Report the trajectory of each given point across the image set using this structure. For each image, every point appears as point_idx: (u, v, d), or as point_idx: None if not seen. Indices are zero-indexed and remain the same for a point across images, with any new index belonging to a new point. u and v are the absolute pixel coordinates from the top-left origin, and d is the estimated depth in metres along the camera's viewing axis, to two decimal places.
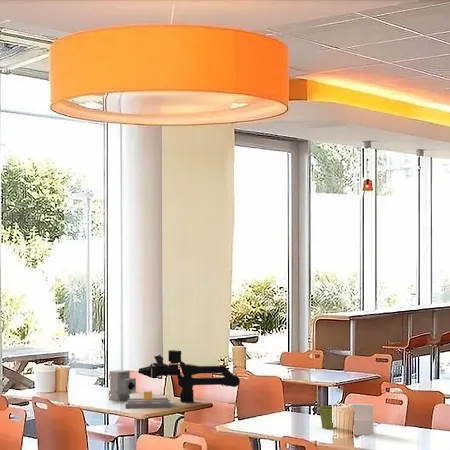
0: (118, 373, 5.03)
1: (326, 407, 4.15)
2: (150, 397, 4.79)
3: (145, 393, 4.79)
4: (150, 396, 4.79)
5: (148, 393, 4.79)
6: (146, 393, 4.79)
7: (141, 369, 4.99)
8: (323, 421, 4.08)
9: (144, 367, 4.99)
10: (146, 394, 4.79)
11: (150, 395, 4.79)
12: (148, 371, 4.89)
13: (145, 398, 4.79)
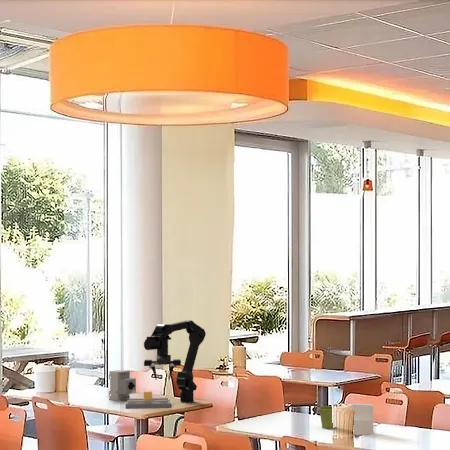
0: (118, 373, 5.03)
1: (326, 407, 4.15)
2: (150, 397, 4.79)
3: (145, 393, 4.79)
4: (150, 396, 4.79)
5: (148, 393, 4.79)
6: (146, 393, 4.79)
7: (156, 377, 4.82)
8: (323, 421, 4.08)
9: (155, 374, 4.82)
10: (146, 394, 4.79)
11: (150, 395, 4.79)
12: None
13: (145, 398, 4.79)
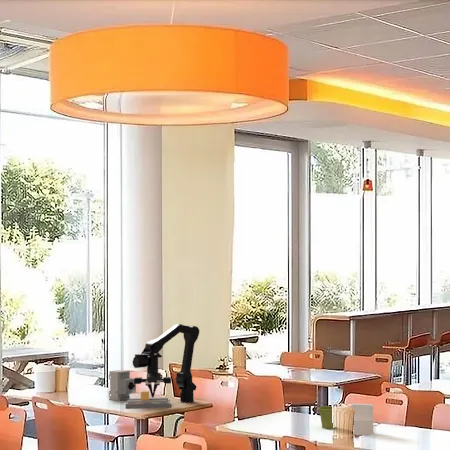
0: (118, 373, 5.03)
1: (326, 407, 4.15)
2: (147, 397, 4.79)
3: (142, 393, 4.79)
4: (147, 396, 4.79)
5: (145, 393, 4.79)
6: (143, 393, 4.79)
7: None
8: (323, 421, 4.08)
9: (151, 392, 4.81)
10: (143, 394, 4.79)
11: (147, 395, 4.79)
12: None
13: (142, 398, 4.79)
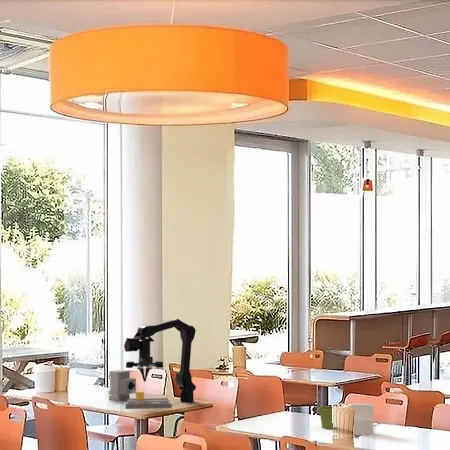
0: (118, 373, 5.03)
1: (326, 407, 4.15)
2: (142, 397, 4.79)
3: (137, 393, 4.79)
4: (142, 396, 4.79)
5: (140, 393, 4.79)
6: (138, 393, 4.79)
7: None
8: (323, 421, 4.08)
9: (143, 376, 4.81)
10: (138, 394, 4.79)
11: (142, 395, 4.79)
12: None
13: (137, 398, 4.79)
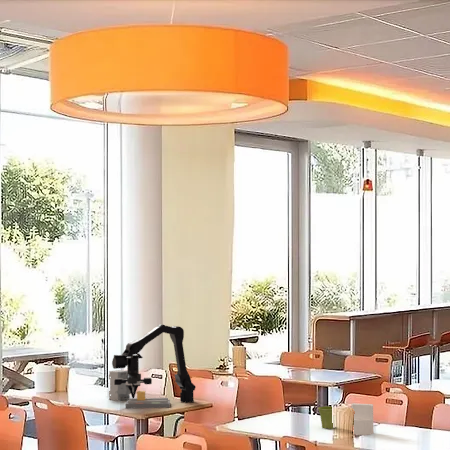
0: (118, 373, 5.03)
1: (326, 407, 4.15)
2: (143, 397, 4.79)
3: (138, 393, 4.79)
4: (143, 396, 4.79)
5: (141, 393, 4.79)
6: (139, 393, 4.79)
7: None
8: (323, 421, 4.08)
9: (132, 392, 4.81)
10: (140, 394, 4.79)
11: (143, 395, 4.79)
12: None
13: (138, 398, 4.79)
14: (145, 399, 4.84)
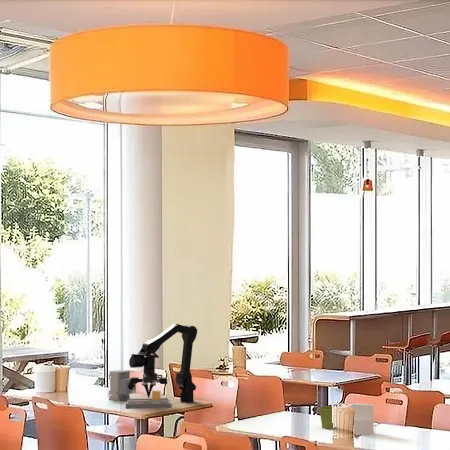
0: (118, 373, 5.03)
1: (326, 407, 4.15)
2: (158, 397, 4.80)
3: (153, 393, 4.80)
4: (158, 396, 4.80)
5: (156, 393, 4.80)
6: (154, 393, 4.80)
7: None
8: (323, 421, 4.08)
9: (147, 392, 4.81)
10: (155, 394, 4.80)
11: (158, 395, 4.80)
12: None
13: (153, 398, 4.79)
14: None
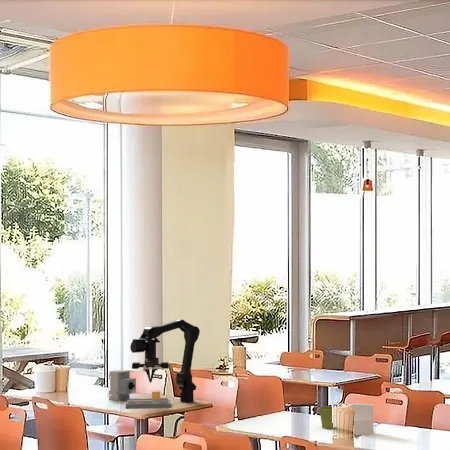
0: (118, 373, 5.03)
1: (326, 407, 4.15)
2: (158, 397, 4.80)
3: (153, 393, 4.80)
4: (158, 396, 4.80)
5: (156, 393, 4.80)
6: (154, 393, 4.80)
7: None
8: (323, 421, 4.08)
9: (149, 377, 4.81)
10: (154, 394, 4.80)
11: (158, 395, 4.80)
12: None
13: (153, 398, 4.79)
14: None
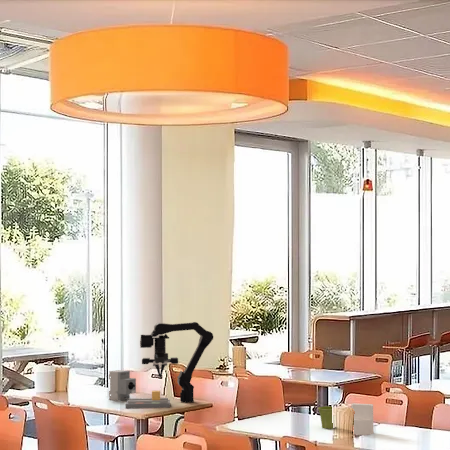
0: (118, 373, 5.03)
1: (326, 407, 4.15)
2: (158, 397, 4.80)
3: (153, 393, 4.80)
4: (158, 396, 4.80)
5: (156, 393, 4.80)
6: (154, 393, 4.80)
7: None
8: (323, 421, 4.08)
9: (159, 372, 4.92)
10: (154, 394, 4.80)
11: (158, 395, 4.80)
12: None
13: (153, 398, 4.79)
14: None
